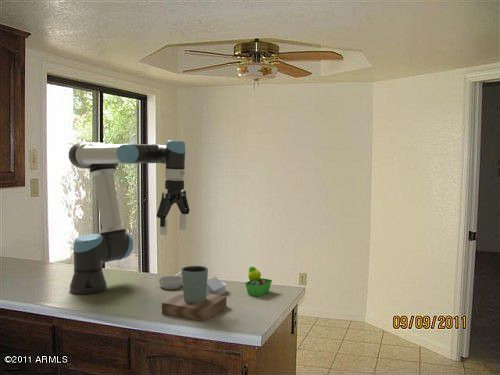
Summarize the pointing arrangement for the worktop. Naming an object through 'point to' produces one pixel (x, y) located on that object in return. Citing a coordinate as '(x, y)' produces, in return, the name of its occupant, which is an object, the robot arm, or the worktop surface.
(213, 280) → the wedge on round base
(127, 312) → the worktop surface
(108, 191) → the robot arm
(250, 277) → the fruit basket
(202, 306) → the walnut stand
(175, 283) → the small pan
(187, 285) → the grey cup
